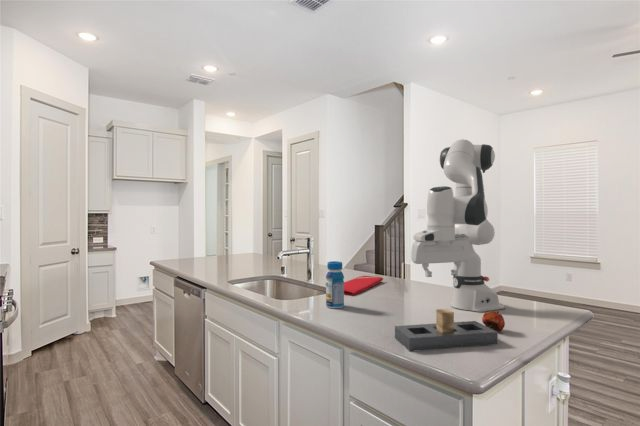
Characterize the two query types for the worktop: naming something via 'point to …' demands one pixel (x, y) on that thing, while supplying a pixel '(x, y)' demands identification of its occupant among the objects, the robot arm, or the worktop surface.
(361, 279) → the dish drying mat
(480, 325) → the gray socket block
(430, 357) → the worktop surface
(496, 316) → the pomegranate
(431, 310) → the worktop surface
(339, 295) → the beverage bottle
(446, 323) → the oak peg
